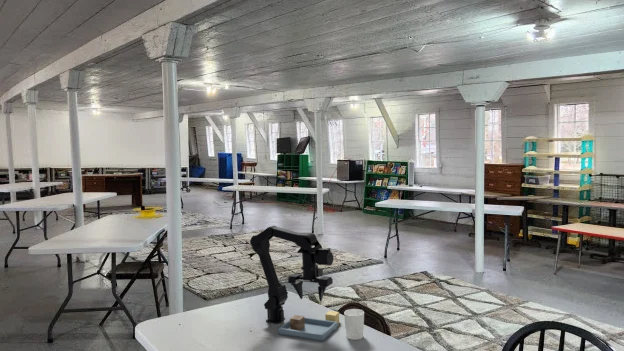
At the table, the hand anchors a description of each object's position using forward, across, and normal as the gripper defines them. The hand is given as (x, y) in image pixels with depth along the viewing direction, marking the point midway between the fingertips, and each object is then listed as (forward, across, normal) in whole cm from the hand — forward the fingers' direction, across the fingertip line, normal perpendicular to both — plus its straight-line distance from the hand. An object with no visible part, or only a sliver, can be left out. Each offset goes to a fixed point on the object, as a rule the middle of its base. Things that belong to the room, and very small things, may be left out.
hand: (311, 299), depth 198 cm
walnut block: (+11, +5, +4) cm, 13 cm away
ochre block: (+12, -6, -8) cm, 15 cm away
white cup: (+12, -20, +2) cm, 24 cm away
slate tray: (+12, 0, +4) cm, 13 cm away
